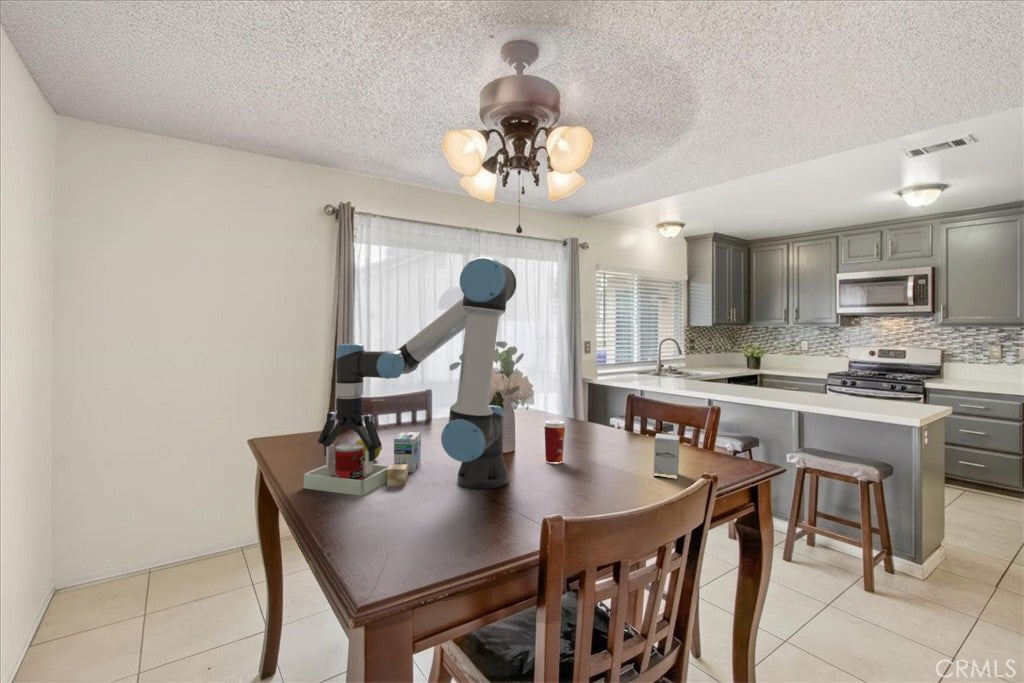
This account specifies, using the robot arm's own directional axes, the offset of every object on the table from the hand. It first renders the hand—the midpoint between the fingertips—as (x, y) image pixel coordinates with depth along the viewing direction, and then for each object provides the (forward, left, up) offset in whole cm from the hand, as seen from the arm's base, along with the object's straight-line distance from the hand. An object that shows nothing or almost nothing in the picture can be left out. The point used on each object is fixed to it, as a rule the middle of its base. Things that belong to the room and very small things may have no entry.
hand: (349, 470), depth 141 cm
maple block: (-13, -5, -4) cm, 15 cm away
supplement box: (-89, -40, -4) cm, 98 cm away
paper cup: (-52, -43, -4) cm, 68 cm away
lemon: (+9, -22, -4) cm, 24 cm away
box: (0, 0, -4) cm, 4 cm away
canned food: (0, 0, -4) cm, 4 cm away
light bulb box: (-8, -20, -4) cm, 22 cm away
